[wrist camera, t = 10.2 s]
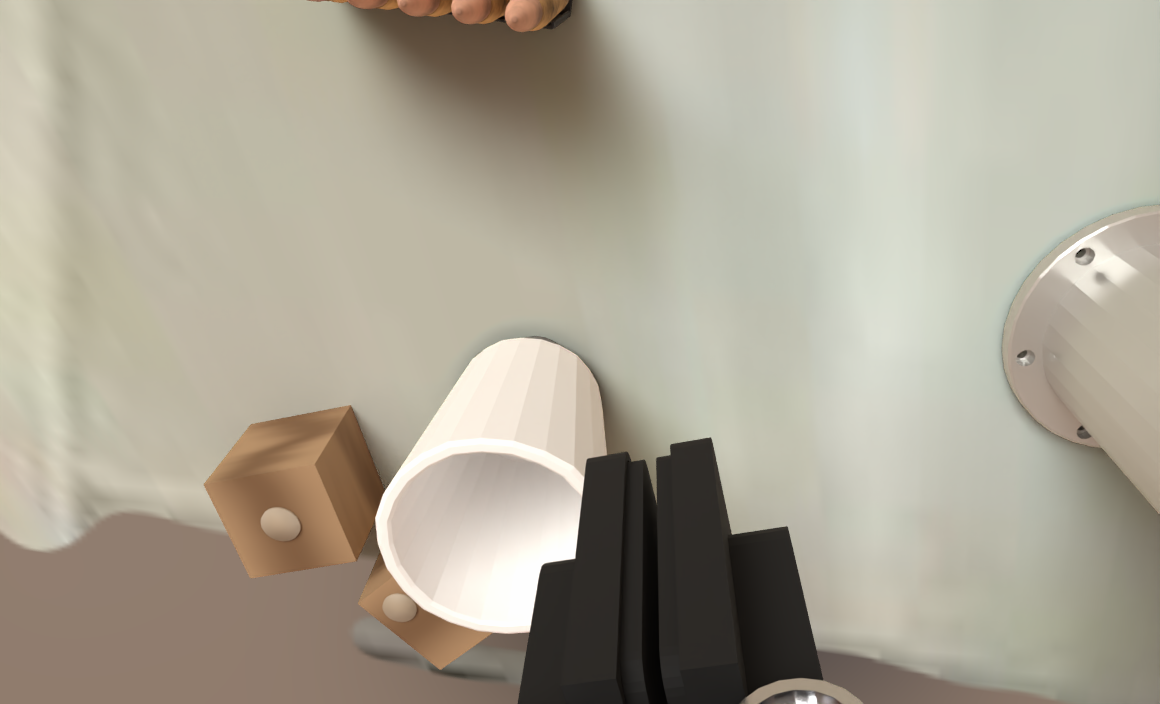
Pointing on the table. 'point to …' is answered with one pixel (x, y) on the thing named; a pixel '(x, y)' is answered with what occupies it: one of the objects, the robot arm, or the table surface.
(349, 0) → the ammunition clip
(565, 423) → the cup
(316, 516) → the walnut block one dot
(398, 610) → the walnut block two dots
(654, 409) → the table surface
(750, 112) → the table surface
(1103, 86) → the table surface
